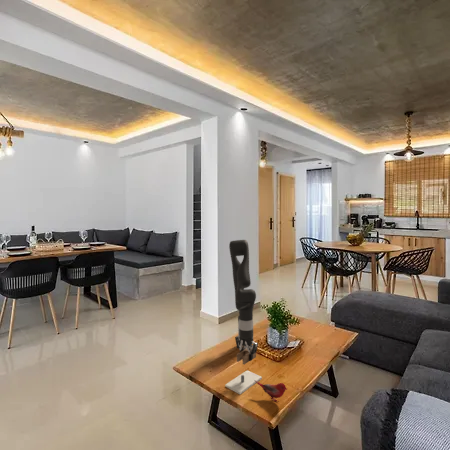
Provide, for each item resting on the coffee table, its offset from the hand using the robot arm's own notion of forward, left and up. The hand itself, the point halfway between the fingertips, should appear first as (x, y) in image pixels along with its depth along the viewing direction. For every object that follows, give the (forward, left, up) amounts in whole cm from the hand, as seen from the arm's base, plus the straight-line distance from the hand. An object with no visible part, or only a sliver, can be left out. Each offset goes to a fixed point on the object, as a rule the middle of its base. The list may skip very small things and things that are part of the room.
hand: (246, 358), depth 162 cm
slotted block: (0, 0, 0) cm, 0 cm away
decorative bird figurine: (+4, +18, -12) cm, 22 cm away
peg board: (+2, 0, -12) cm, 12 cm away
